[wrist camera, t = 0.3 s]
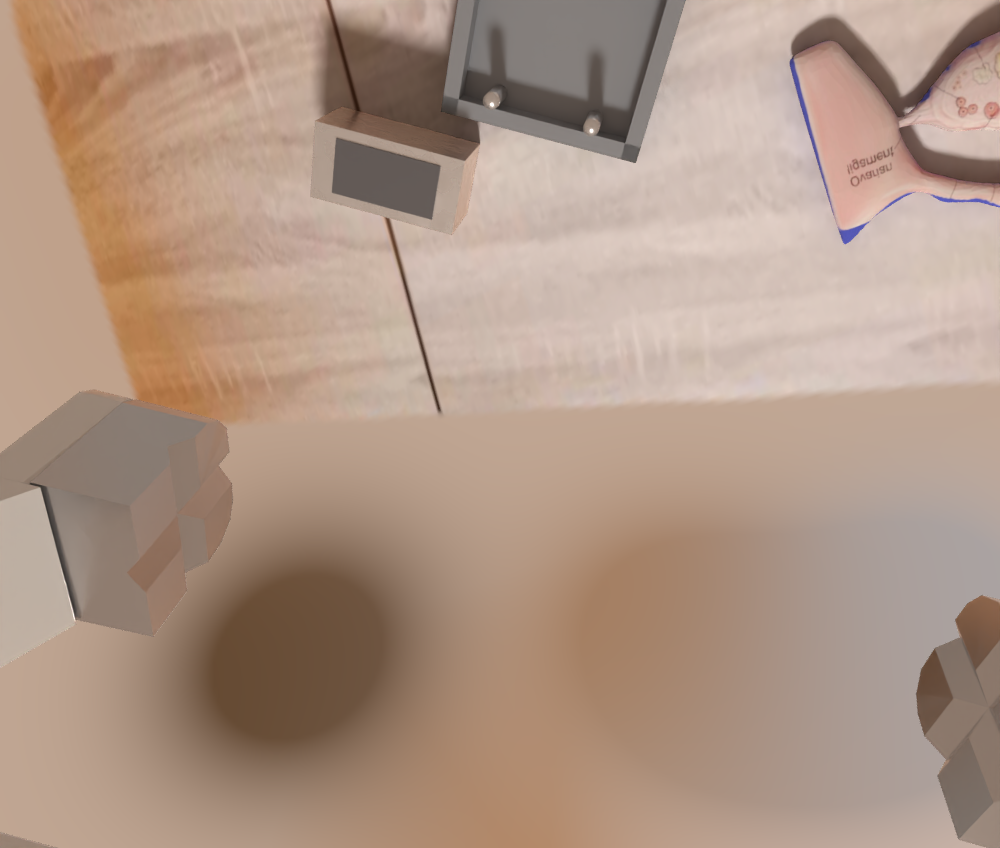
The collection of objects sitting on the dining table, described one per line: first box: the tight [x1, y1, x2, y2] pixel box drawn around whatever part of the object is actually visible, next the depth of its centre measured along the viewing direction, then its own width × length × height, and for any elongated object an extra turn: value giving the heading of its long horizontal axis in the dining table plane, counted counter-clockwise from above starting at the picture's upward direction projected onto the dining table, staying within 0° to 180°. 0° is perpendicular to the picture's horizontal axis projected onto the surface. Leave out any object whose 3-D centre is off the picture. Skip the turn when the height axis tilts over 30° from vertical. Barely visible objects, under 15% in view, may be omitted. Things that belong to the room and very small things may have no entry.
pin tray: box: [441, 0, 686, 163], centre depth 46 cm, size 11×13×4 cm
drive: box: [310, 107, 480, 235], centre depth 51 cm, size 5×10×5 cm, turn 79°
